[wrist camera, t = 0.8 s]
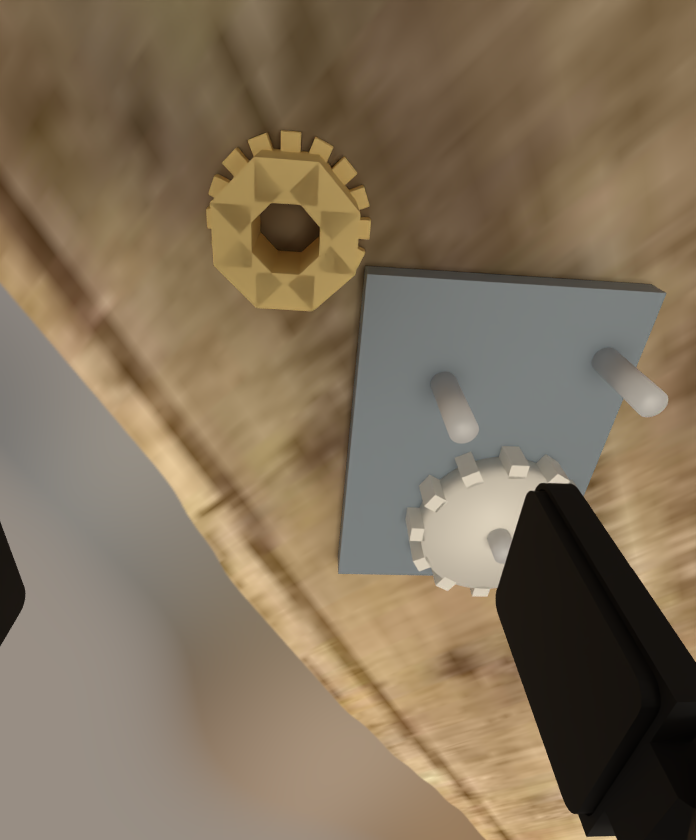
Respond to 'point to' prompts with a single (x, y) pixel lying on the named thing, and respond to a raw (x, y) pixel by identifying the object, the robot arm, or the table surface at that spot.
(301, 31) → the table surface
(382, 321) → the gear board
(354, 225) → the gear
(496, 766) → the table surface
